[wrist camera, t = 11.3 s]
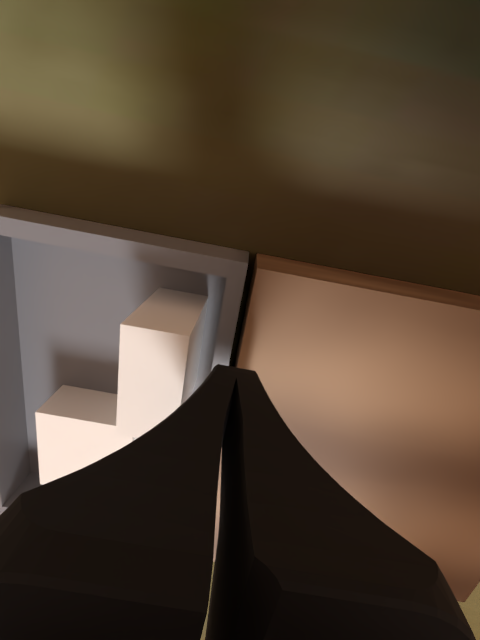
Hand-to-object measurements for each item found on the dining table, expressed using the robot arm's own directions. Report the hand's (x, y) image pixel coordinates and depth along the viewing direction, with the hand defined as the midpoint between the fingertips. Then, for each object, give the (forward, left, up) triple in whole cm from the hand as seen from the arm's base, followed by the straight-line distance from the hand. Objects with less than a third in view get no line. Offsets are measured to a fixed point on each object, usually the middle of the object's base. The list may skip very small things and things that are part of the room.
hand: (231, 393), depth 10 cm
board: (-3, -7, -4) cm, 8 cm away
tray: (-3, +5, -4) cm, 7 cm away
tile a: (-6, +6, -2) cm, 8 cm away
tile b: (0, +1, -2) cm, 2 cm away
